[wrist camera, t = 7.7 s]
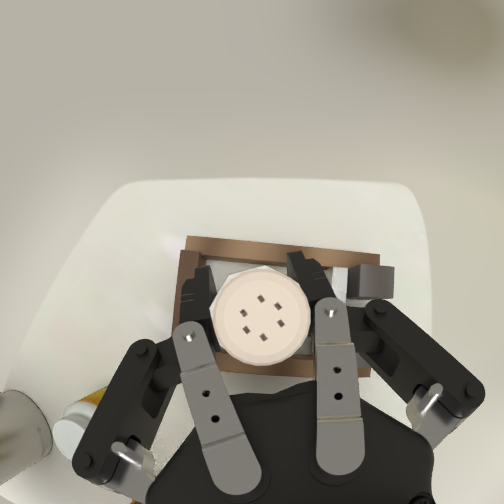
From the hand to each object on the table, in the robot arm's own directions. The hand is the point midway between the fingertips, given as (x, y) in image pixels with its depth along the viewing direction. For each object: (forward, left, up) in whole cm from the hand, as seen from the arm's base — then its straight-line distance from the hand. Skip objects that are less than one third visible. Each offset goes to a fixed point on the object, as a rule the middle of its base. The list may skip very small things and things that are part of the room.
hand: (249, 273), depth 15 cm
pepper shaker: (+1, -2, -5) cm, 5 cm away
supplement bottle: (-12, -14, -13) cm, 22 cm away
